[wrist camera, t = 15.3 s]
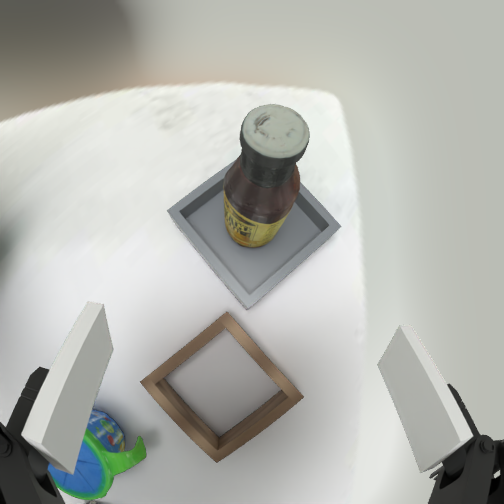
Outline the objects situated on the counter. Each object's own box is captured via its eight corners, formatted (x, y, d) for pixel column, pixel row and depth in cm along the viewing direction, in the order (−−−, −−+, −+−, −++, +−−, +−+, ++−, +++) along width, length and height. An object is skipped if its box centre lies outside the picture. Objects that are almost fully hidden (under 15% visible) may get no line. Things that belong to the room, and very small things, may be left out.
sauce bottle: (217, 212, 35) (202, 99, 16) (264, 194, 36) (292, 76, 17) (238, 261, 34) (242, 185, 15) (287, 241, 35) (344, 152, 16)
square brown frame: (149, 375, 31) (139, 381, 27) (228, 312, 34) (227, 311, 30) (218, 449, 30) (216, 462, 26) (296, 388, 32) (304, 397, 28)
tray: (173, 222, 36) (166, 210, 32) (258, 159, 38) (260, 143, 34) (246, 310, 34) (248, 308, 30) (330, 236, 36) (341, 226, 33)
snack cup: (150, 402, 31) (120, 428, 21) (162, 472, 28) (142, 513, 18) (49, 390, 29) (4, 404, 20) (63, 456, 27) (27, 481, 17)
